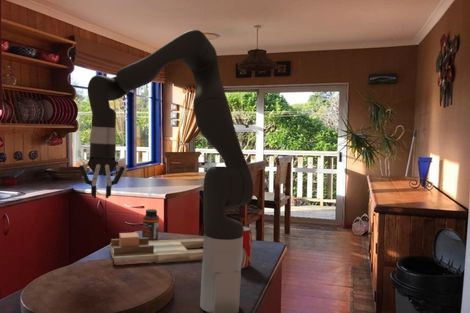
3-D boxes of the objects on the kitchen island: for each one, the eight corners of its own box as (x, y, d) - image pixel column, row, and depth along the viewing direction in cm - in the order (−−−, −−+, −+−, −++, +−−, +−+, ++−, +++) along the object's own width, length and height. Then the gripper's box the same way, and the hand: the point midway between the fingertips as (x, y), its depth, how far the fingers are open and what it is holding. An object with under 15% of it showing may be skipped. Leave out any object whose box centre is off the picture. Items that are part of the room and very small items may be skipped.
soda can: (248, 270, 119) (250, 231, 118) (225, 267, 120) (228, 229, 120) (252, 263, 126) (254, 226, 125) (230, 260, 127) (232, 224, 127)
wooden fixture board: (224, 258, 130) (225, 244, 130) (114, 265, 117) (114, 250, 116) (209, 244, 145) (209, 232, 144) (110, 250, 131) (110, 236, 131)
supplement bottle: (138, 241, 144) (140, 210, 144) (146, 237, 150) (148, 207, 149) (153, 243, 143) (154, 212, 142) (160, 239, 148) (162, 209, 148)
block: (138, 250, 124) (139, 236, 124) (120, 251, 122) (121, 237, 122) (136, 246, 129) (136, 232, 129) (118, 246, 127) (119, 233, 127)
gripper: (78, 141, 115) (76, 200, 115) (128, 143, 120) (125, 199, 121) (78, 140, 121) (76, 196, 122) (125, 142, 127) (123, 195, 128)
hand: (101, 197), depth 122 cm, fingers open, 3 cm apart
